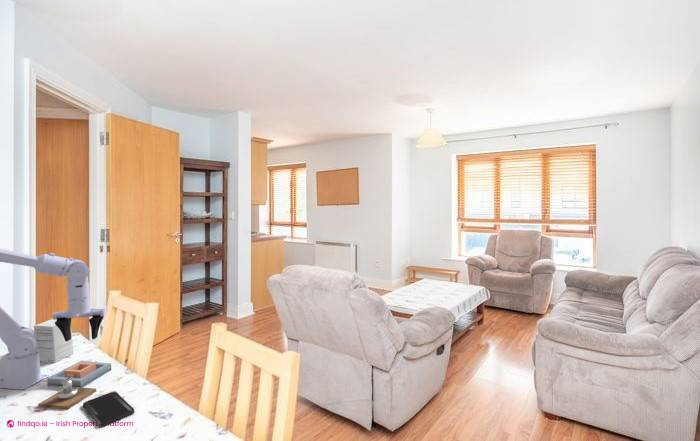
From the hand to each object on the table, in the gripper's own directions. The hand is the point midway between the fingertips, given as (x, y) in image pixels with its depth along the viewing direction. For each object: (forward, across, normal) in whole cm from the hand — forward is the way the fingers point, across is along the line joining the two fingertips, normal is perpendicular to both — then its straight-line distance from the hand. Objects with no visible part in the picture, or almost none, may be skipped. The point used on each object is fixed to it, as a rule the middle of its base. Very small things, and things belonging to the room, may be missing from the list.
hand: (81, 339), depth 120 cm
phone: (+10, +18, -28) cm, 35 cm away
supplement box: (+10, -13, +10) cm, 19 cm away
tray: (+9, +3, -7) cm, 12 cm away
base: (+9, +5, -20) cm, 23 cm away
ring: (+9, +3, -7) cm, 12 cm away
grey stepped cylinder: (+9, +5, -20) cm, 23 cm away
